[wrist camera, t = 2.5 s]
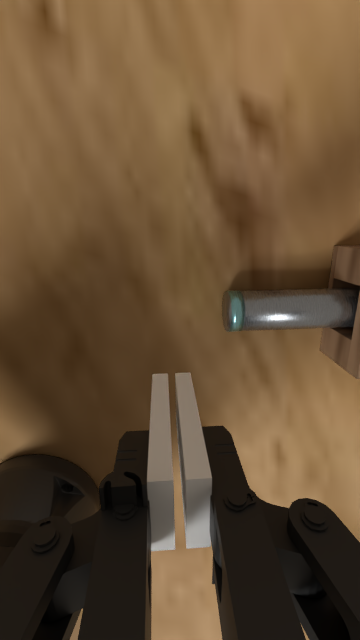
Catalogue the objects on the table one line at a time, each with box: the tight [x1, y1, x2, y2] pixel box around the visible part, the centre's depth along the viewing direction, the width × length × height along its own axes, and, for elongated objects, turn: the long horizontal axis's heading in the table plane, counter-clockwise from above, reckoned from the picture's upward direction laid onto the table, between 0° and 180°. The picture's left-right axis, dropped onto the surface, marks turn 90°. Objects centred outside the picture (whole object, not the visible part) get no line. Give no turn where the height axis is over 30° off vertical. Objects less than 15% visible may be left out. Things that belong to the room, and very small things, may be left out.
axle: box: [222, 288, 360, 332], centre depth 31 cm, size 22×4×4 cm, turn 91°
